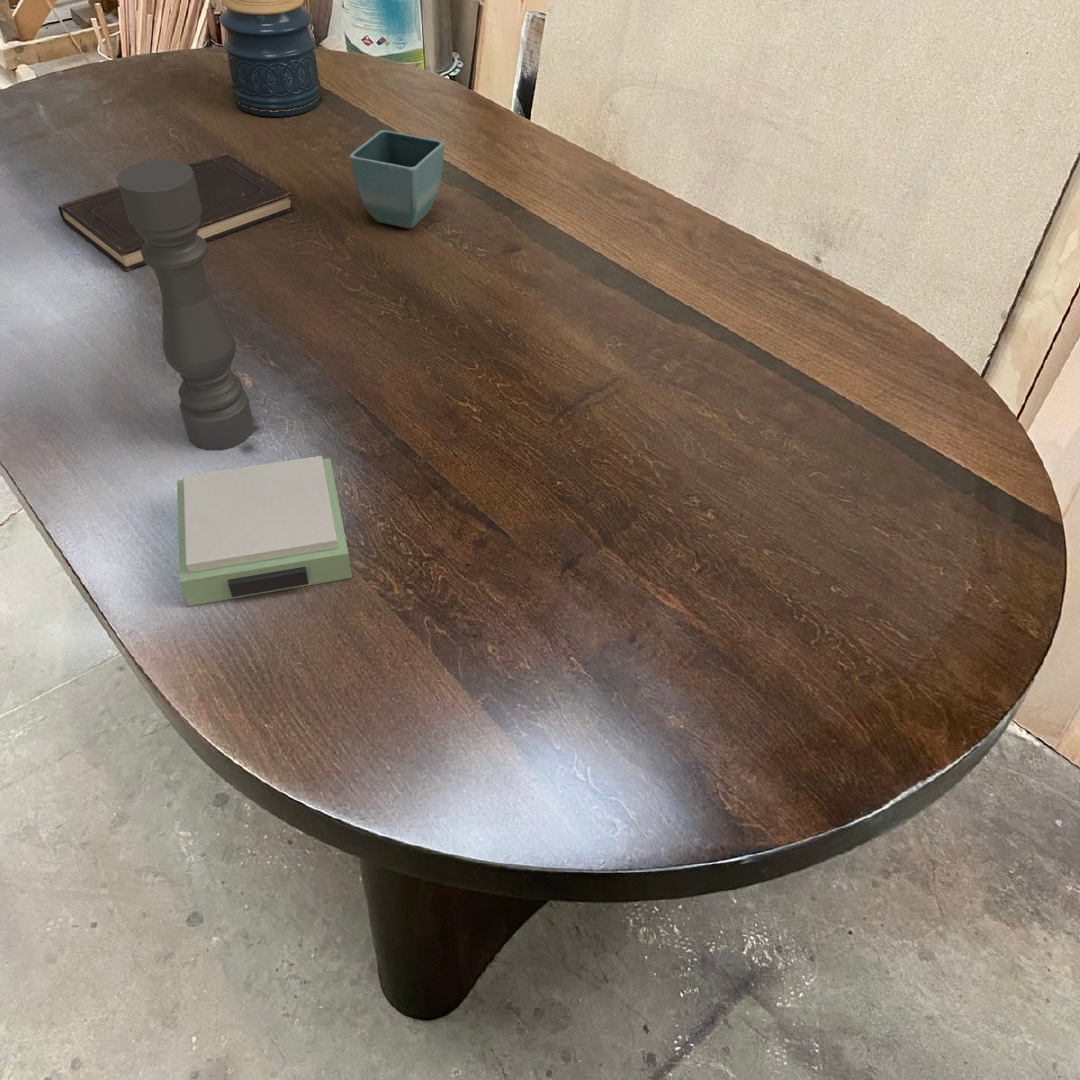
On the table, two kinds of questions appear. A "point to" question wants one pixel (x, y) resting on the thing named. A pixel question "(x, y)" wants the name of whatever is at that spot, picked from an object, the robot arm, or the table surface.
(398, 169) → the flower pot
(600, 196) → the table surface
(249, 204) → the hardcover book
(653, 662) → the table surface
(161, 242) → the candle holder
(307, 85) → the canister
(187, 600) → the scale
